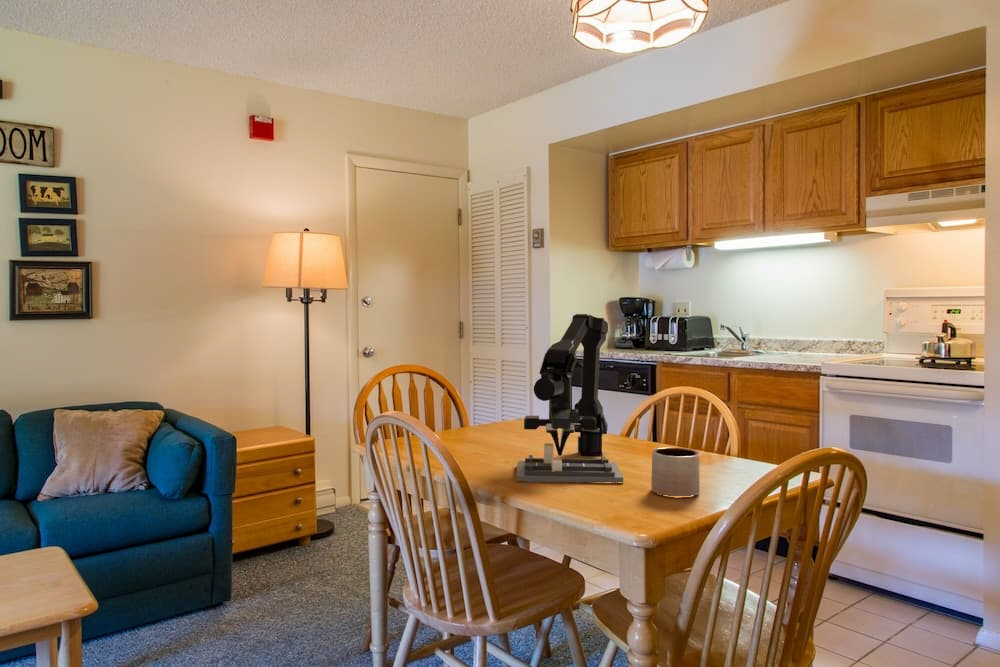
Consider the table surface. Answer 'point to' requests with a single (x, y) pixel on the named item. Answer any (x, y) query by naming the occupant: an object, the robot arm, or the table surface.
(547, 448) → the fader
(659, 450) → the planter
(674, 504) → the table surface
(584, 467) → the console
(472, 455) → the table surface
